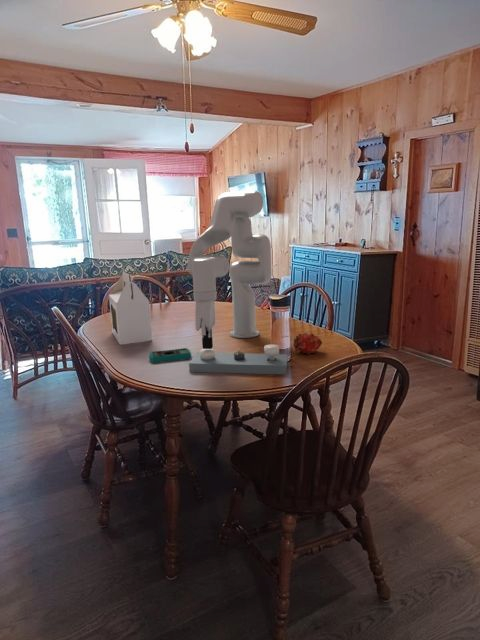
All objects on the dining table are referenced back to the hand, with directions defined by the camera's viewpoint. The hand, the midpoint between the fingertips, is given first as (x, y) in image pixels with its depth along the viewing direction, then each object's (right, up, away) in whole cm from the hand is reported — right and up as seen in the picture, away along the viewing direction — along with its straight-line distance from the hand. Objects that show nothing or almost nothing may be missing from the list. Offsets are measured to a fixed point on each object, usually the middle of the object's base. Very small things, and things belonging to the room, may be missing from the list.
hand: (207, 348), depth 155 cm
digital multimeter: (-14, -5, +11) cm, 19 cm away
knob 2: (+22, -5, -3) cm, 22 cm away
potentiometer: (+11, -3, -1) cm, 11 cm away
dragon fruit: (+36, -3, +13) cm, 39 cm away
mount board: (+11, -6, -1) cm, 13 cm away
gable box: (-36, +2, +42) cm, 55 cm away
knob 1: (0, -6, +1) cm, 6 cm away
